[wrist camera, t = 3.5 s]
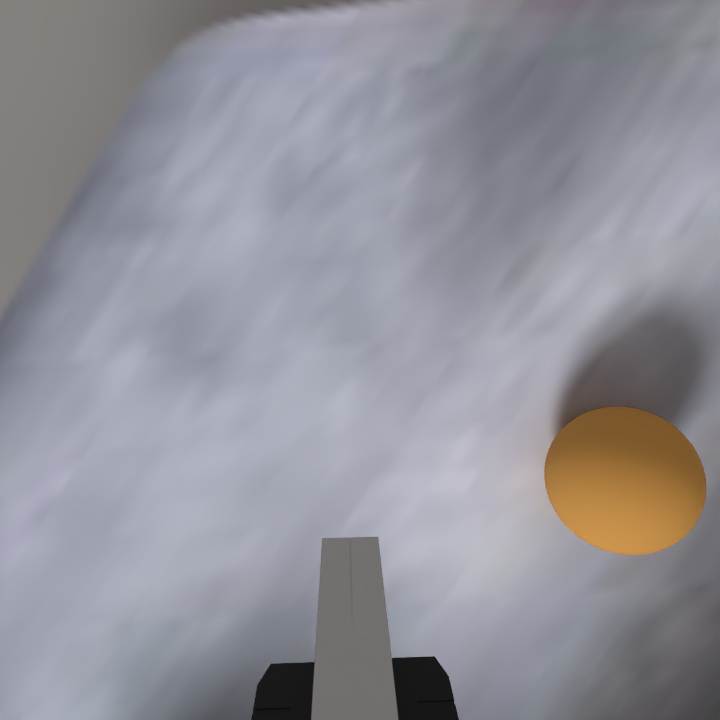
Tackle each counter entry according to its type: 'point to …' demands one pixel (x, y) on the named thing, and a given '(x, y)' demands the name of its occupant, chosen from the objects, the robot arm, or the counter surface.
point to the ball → (625, 480)
